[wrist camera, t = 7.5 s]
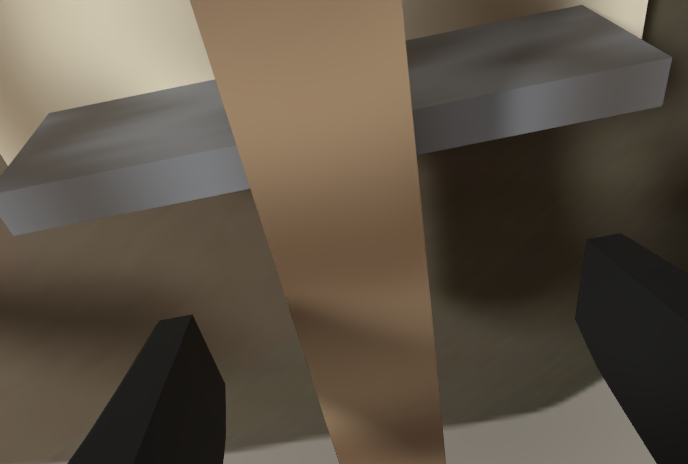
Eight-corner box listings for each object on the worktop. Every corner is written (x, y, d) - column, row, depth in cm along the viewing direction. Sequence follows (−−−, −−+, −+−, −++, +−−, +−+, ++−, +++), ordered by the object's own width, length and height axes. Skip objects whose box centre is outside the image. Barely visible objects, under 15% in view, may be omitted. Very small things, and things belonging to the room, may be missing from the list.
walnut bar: (418, 362, 18) (445, 465, 15) (333, 379, 18) (346, 485, 15) (331, -316, 8) (364, -392, 5) (148, -277, 8) (82, -332, 5)
